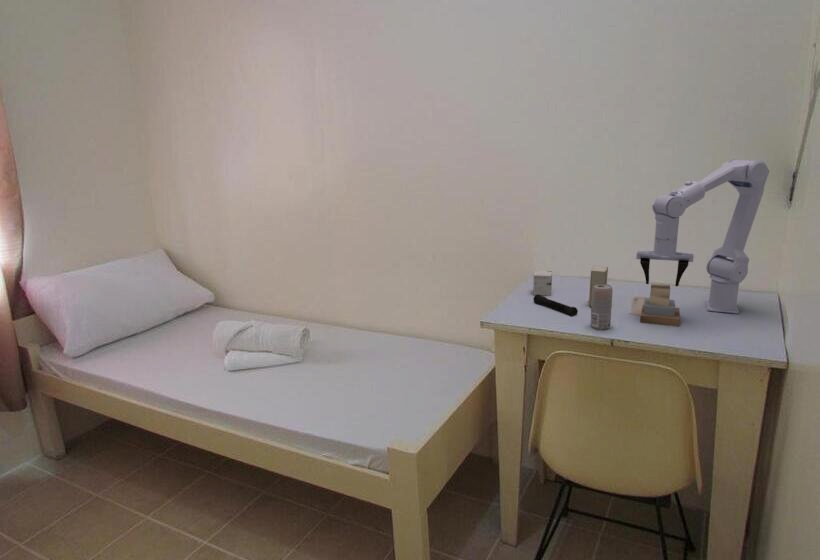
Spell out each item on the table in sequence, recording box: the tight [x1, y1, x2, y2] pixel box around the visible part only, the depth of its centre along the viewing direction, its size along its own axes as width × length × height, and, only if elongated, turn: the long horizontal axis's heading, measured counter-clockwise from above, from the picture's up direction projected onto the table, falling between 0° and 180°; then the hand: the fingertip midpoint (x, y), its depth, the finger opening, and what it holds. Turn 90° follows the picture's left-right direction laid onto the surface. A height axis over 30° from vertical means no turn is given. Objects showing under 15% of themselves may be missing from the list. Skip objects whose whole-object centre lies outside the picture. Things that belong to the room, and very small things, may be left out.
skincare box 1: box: [532, 270, 553, 297], centre depth 180 cm, size 6×6×7 cm
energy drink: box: [590, 283, 613, 330], centre depth 147 cm, size 5×5×12 cm
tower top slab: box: [644, 297, 676, 317], centre depth 152 cm, size 8×8×2 cm
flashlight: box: [533, 294, 579, 317], centre depth 165 cm, size 3×16×3 cm, turn 29°
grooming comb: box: [628, 296, 649, 317], centre depth 163 cm, size 18×10×1 cm, turn 149°
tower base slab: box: [639, 305, 681, 327], centre depth 152 cm, size 10×10×2 cm
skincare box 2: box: [588, 265, 609, 307], centre depth 165 cm, size 6×4×12 cm
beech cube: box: [649, 283, 671, 306], centre depth 151 cm, size 5×5×5 cm
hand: (661, 284), depth 150 cm, fingers open, 7 cm apart
